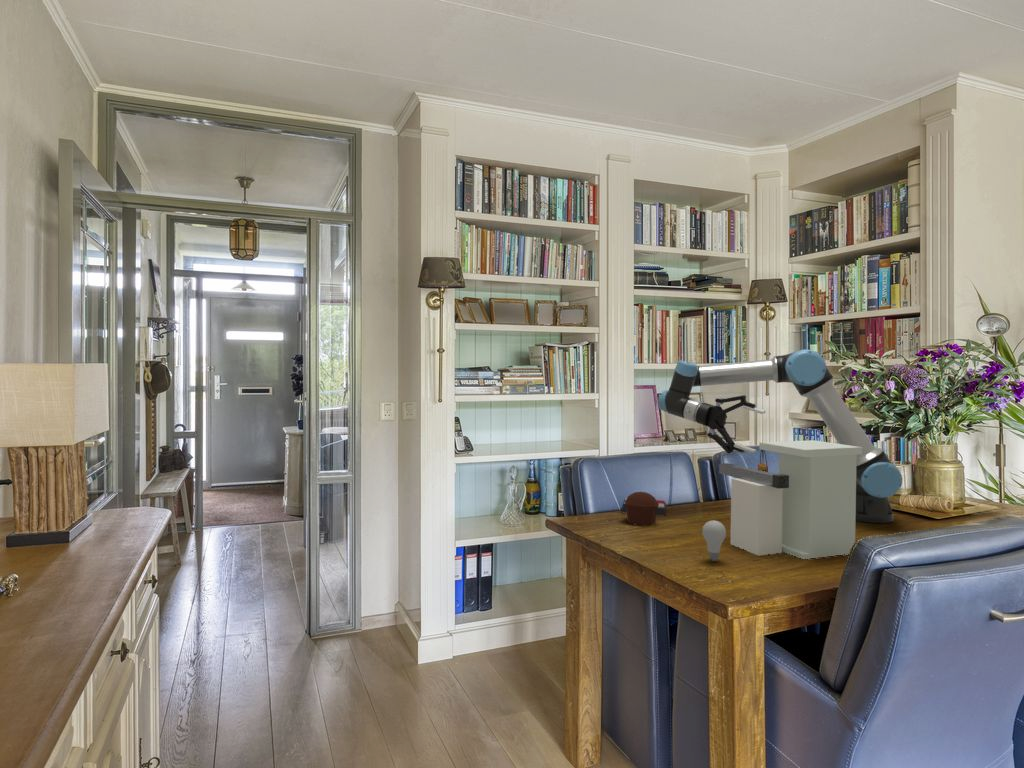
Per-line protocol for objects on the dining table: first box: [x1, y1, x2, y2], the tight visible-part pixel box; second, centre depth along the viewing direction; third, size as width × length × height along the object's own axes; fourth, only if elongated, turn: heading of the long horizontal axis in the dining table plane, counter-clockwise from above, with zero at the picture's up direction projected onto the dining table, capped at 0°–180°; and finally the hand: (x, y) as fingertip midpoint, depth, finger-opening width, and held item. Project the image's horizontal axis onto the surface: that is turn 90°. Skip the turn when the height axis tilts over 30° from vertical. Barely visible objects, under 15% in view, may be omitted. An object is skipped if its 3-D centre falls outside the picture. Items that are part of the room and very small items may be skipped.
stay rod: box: [718, 462, 789, 489], centre depth 185 cm, size 26×3×3 cm, turn 18°
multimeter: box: [757, 449, 769, 472], centre depth 257 cm, size 15×10×20 cm
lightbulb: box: [701, 519, 727, 562], centre depth 172 cm, size 6×6×11 cm
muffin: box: [625, 491, 659, 526], centre depth 215 cm, size 12×11×10 cm
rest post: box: [730, 477, 783, 557], centre depth 184 cm, size 12×8×20 cm, turn 18°
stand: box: [758, 439, 862, 560], centre depth 184 cm, size 18×20×30 cm
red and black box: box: [621, 497, 667, 516], centre depth 232 cm, size 11×4×15 cm
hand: (759, 432), depth 208 cm, fingers open, 13 cm apart
